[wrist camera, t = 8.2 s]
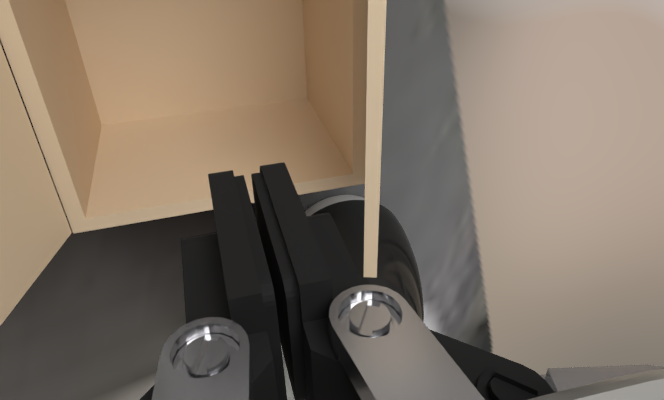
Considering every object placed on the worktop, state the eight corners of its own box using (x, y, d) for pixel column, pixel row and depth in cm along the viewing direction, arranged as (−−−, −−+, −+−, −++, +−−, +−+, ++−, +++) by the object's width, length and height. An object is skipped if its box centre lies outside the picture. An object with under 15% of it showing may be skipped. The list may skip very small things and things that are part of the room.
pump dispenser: (250, 228, 45) (287, 372, 33) (348, 154, 44) (423, 275, 32) (318, 288, 51) (370, 428, 39) (406, 224, 50) (488, 348, 38)
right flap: (367, 182, 31) (377, 182, 31) (363, 277, 24) (376, 277, 24) (375, -266, 20) (392, -267, 20) (373, -316, 13) (397, -317, 13)
